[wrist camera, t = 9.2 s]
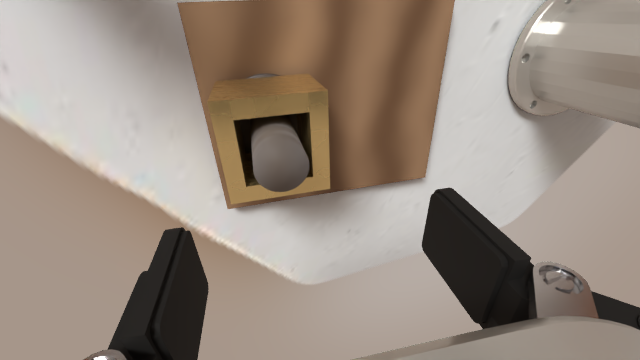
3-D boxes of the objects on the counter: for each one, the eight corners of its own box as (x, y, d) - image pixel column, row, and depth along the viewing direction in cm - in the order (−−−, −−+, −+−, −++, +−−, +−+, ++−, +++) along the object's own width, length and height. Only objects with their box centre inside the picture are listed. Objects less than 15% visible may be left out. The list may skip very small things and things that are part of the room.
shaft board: (444, -6, 24) (569, -19, 15) (417, 171, 33) (487, 232, 24) (181, 3, 21) (132, -6, 11) (228, 200, 29) (222, 287, 20)
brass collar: (308, 73, 23) (327, 90, 17) (313, 154, 26) (330, 188, 21) (215, 81, 21) (207, 101, 16) (233, 165, 25) (231, 204, 20)
